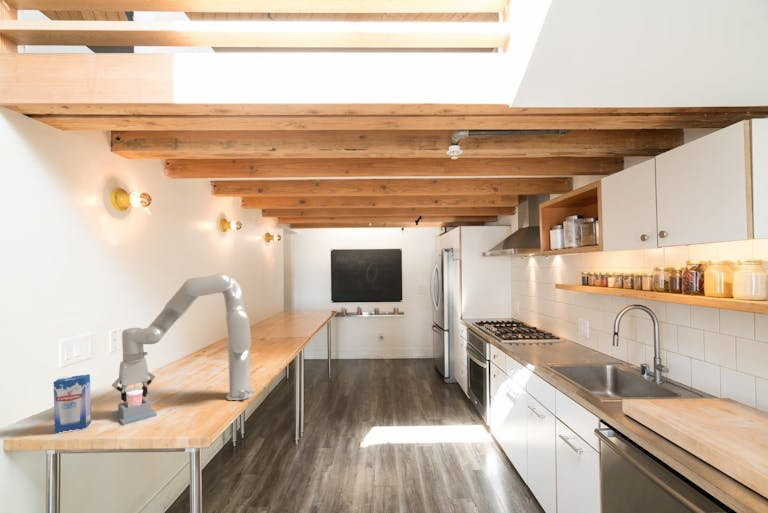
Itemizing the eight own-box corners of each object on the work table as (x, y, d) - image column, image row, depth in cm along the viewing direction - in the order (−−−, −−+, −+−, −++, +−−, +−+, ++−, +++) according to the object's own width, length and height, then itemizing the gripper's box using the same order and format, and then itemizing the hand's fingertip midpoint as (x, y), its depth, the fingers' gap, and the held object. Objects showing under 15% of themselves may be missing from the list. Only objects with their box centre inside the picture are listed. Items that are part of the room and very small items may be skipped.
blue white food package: (54, 434, 145) (53, 382, 146) (60, 428, 151) (59, 377, 151) (86, 428, 149) (85, 378, 150) (91, 422, 155) (90, 374, 155)
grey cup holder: (156, 415, 160) (156, 403, 160) (122, 425, 151) (122, 412, 151) (145, 405, 172) (144, 394, 172) (113, 414, 163) (112, 402, 164)
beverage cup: (133, 409, 165) (132, 377, 165) (146, 409, 165) (146, 377, 165) (123, 415, 159) (122, 382, 159) (137, 415, 158) (136, 381, 159)
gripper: (153, 351, 171) (154, 391, 171) (107, 360, 158) (108, 402, 158) (158, 354, 166) (159, 394, 165) (110, 362, 153) (112, 406, 153)
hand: (134, 398), depth 162 cm, fingers open, 6 cm apart
